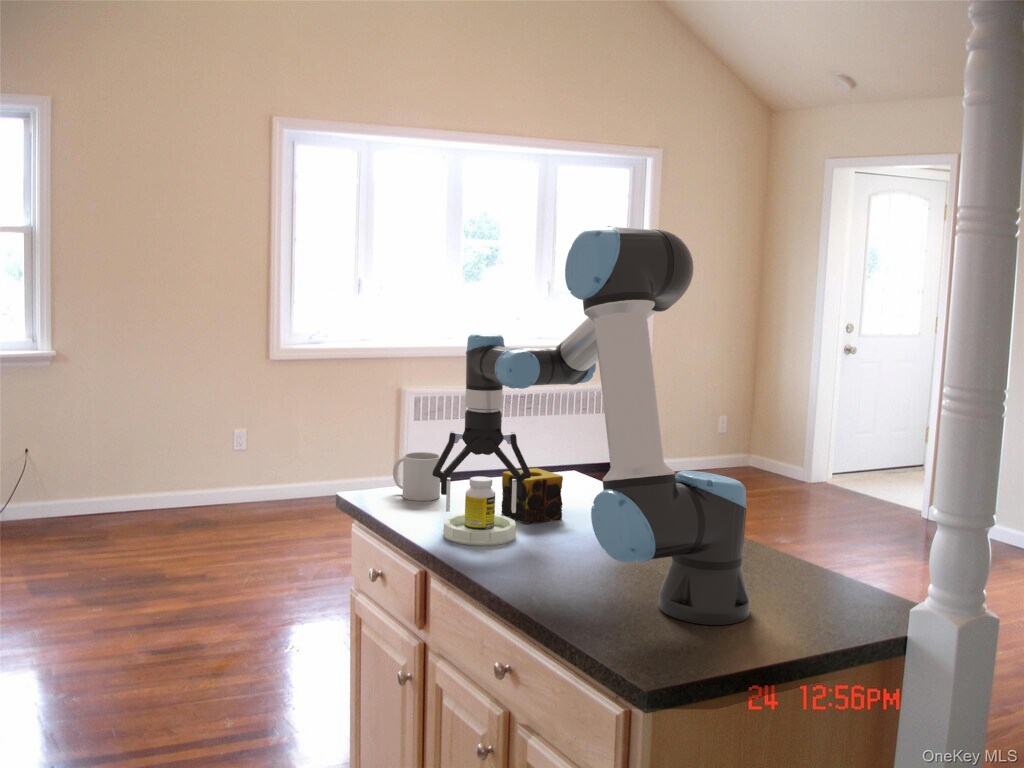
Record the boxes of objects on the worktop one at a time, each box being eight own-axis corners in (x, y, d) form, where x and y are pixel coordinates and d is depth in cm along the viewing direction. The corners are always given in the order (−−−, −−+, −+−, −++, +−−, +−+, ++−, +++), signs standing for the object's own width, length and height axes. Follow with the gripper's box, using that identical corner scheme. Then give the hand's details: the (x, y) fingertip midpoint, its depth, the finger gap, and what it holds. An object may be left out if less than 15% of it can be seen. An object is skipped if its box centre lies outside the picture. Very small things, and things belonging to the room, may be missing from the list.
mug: (445, 499, 239) (446, 458, 237) (408, 502, 234) (409, 460, 233) (427, 489, 248) (428, 449, 247) (391, 492, 244) (392, 451, 242)
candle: (563, 519, 224) (564, 476, 223) (525, 525, 219) (527, 480, 217) (536, 509, 233) (538, 467, 231) (500, 514, 227) (501, 471, 226)
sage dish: (517, 546, 202) (517, 533, 202) (442, 545, 201) (442, 531, 201) (513, 526, 217) (513, 513, 217) (443, 524, 216) (444, 512, 216)
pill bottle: (490, 536, 205) (492, 483, 204) (460, 533, 207) (462, 480, 205) (497, 528, 211) (498, 476, 210) (468, 525, 213) (470, 474, 211)
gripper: (542, 408, 210) (539, 507, 213) (423, 405, 209) (421, 505, 211) (545, 413, 203) (542, 516, 205) (421, 410, 201) (419, 514, 204)
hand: (480, 510), depth 208 cm, fingers open, 13 cm apart
